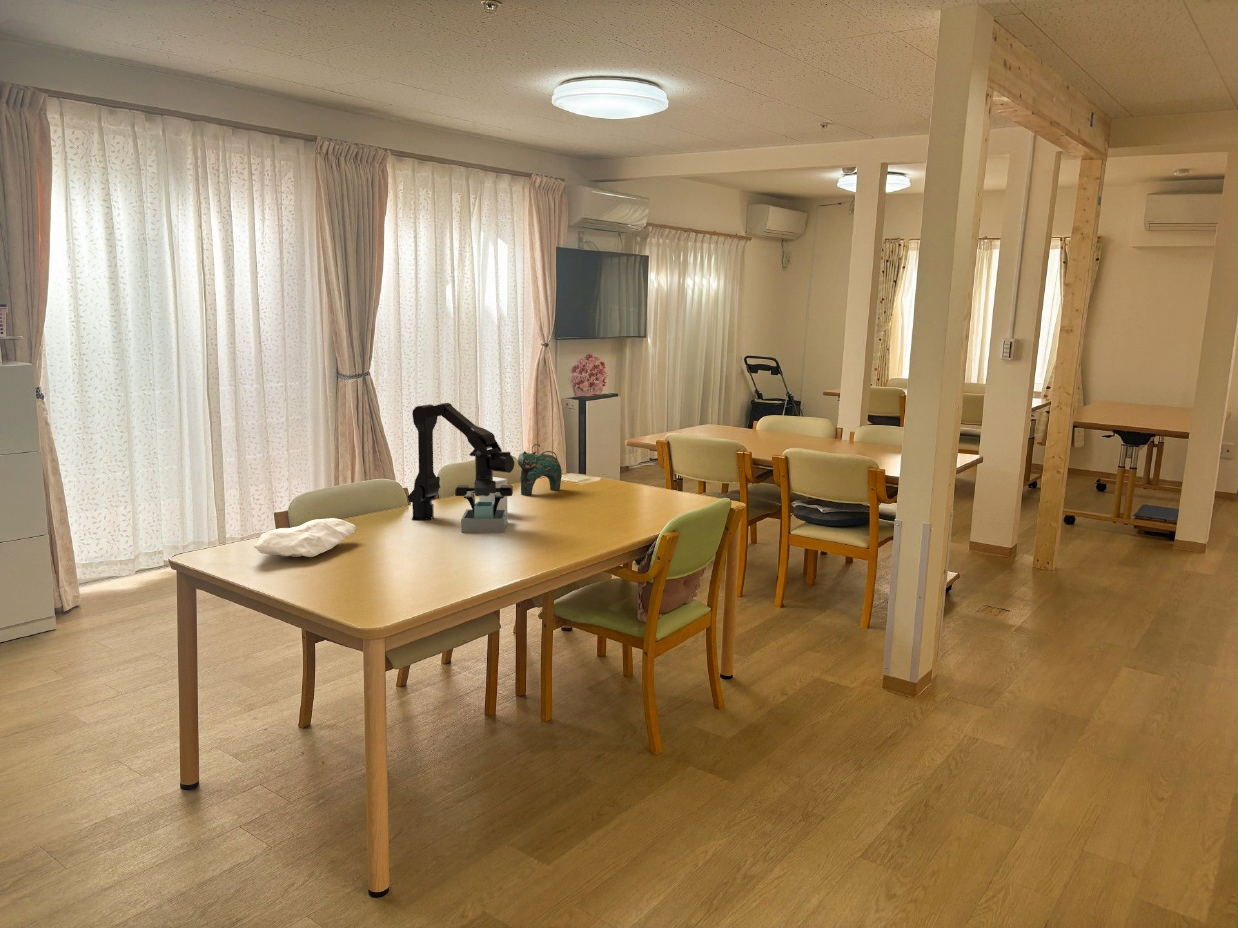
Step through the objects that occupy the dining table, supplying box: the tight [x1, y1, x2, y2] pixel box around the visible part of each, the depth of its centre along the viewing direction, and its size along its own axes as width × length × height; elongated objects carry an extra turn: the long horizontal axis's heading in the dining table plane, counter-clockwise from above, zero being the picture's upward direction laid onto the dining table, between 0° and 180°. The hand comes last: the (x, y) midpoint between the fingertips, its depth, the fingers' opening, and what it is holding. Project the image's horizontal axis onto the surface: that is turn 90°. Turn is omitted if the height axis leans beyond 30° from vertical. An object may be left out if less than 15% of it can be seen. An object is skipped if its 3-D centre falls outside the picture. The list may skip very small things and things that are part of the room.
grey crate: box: [460, 508, 509, 533], centre depth 296 cm, size 14×14×4 cm
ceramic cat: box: [517, 443, 563, 497], centre depth 350 cm, size 20×6×20 cm, turn 132°
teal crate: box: [474, 500, 495, 519], centre depth 295 cm, size 6×8×5 cm
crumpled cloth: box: [253, 517, 356, 558], centre depth 264 cm, size 24×35×9 cm
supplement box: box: [478, 476, 508, 510], centre depth 315 cm, size 7×7×13 cm
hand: (484, 515), depth 295 cm, fingers closed on teal crate, 6 cm apart
